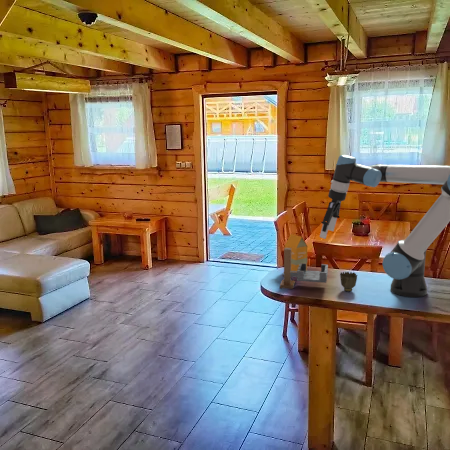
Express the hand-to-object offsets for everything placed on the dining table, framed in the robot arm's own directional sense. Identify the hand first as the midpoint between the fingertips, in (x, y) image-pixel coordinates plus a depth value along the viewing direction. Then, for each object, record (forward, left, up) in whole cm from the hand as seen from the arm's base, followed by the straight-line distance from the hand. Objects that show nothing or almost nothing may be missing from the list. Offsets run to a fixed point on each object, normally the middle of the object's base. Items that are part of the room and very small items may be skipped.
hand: (326, 234), depth 204 cm
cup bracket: (+10, +5, -24) cm, 27 cm away
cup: (-10, +6, -25) cm, 28 cm away
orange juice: (+16, -15, -25) cm, 33 cm away
